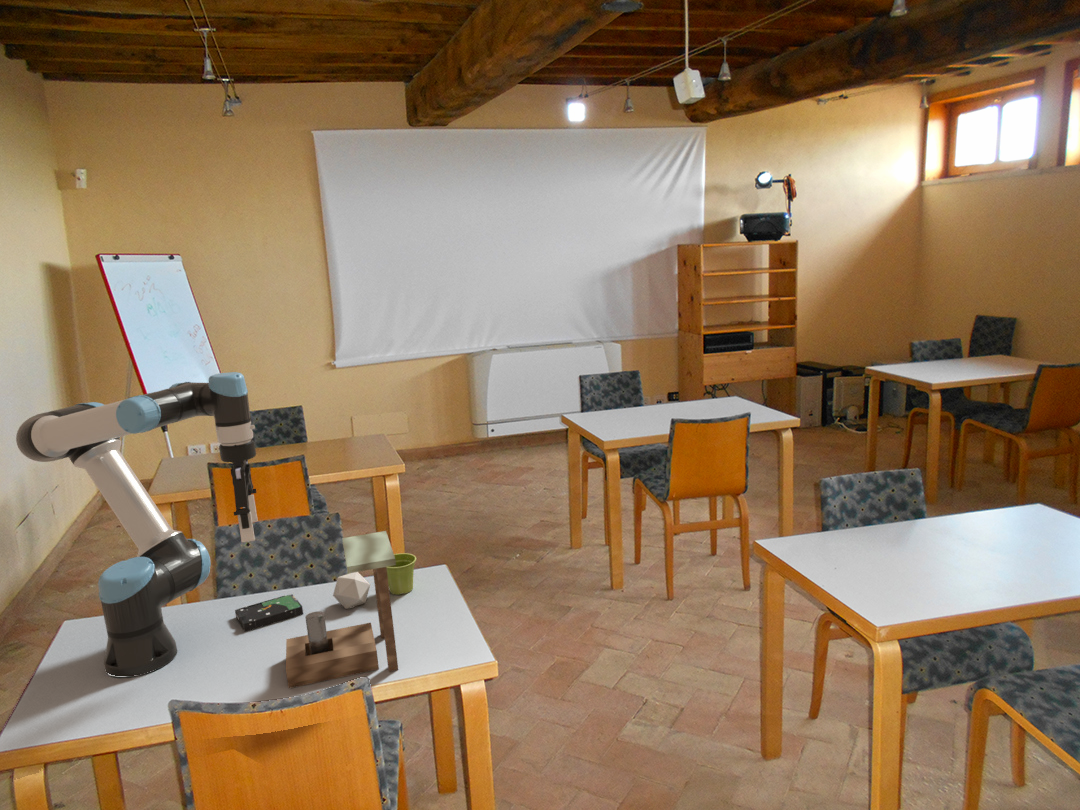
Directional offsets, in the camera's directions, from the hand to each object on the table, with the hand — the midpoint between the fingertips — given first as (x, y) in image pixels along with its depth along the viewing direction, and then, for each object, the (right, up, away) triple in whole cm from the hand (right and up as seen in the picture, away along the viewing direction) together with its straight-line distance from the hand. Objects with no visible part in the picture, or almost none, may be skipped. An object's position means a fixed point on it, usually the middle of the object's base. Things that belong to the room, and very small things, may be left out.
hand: (250, 531), depth 180 cm
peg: (+18, -28, -5) cm, 34 cm away
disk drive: (-3, -26, +22) cm, 34 cm away
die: (+18, -23, +25) cm, 38 cm away
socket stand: (+23, -28, -4) cm, 37 cm away
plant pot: (+29, -21, +31) cm, 48 cm away
